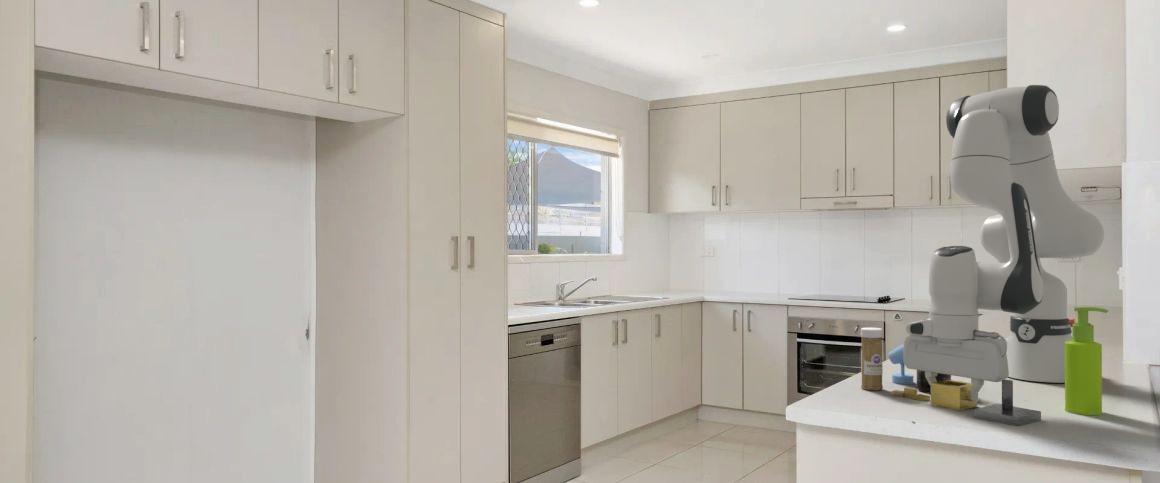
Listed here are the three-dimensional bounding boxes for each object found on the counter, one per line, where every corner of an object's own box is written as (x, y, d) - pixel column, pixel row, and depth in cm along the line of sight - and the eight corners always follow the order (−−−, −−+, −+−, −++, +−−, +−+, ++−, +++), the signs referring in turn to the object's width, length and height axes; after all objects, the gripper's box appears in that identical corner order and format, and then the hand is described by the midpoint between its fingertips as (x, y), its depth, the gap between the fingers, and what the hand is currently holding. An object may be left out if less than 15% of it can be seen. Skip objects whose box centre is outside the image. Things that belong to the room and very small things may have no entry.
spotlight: (924, 382, 176) (893, 379, 180) (923, 339, 175) (893, 336, 180) (916, 386, 172) (885, 382, 177) (916, 341, 172) (885, 339, 176)
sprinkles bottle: (871, 391, 166) (871, 329, 166) (856, 388, 171) (856, 327, 171) (887, 389, 168) (887, 328, 168) (872, 386, 172) (871, 326, 172)
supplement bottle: (955, 394, 163) (954, 338, 163) (920, 393, 164) (920, 337, 164) (946, 388, 170) (946, 333, 169) (913, 387, 171) (913, 333, 171)
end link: (948, 400, 157) (948, 379, 157) (976, 406, 152) (976, 384, 152) (930, 404, 153) (930, 382, 153) (959, 410, 148) (959, 387, 148)
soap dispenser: (1109, 417, 142) (1109, 309, 142) (1065, 413, 146) (1064, 307, 145) (1107, 410, 147) (1107, 306, 147) (1065, 406, 151) (1064, 305, 150)
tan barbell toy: (896, 393, 164) (896, 385, 164) (930, 399, 158) (930, 391, 158) (889, 394, 163) (889, 386, 163) (923, 401, 157) (923, 392, 157)
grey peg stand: (997, 411, 147) (997, 374, 147) (1041, 419, 141) (1040, 381, 141) (974, 417, 143) (974, 379, 143) (1018, 426, 136) (1018, 386, 136)
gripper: (1015, 332, 145) (1015, 404, 146) (916, 322, 163) (917, 387, 163) (997, 334, 142) (997, 409, 142) (898, 324, 159) (898, 391, 159)
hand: (953, 397), depth 153 cm, fingers closed on end link, 6 cm apart
